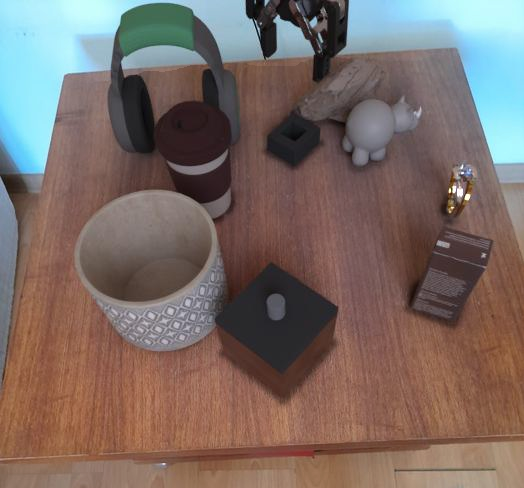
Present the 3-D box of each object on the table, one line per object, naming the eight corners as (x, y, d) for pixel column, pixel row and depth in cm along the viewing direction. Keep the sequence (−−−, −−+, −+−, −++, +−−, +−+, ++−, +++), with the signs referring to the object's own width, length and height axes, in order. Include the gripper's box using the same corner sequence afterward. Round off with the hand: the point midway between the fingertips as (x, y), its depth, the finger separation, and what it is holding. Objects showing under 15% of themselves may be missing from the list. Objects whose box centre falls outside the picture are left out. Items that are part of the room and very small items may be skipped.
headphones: (240, 113, 82) (226, -18, 64) (242, 161, 77) (228, 34, 59) (129, 122, 82) (84, -6, 64) (124, 170, 78) (74, 47, 60)
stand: (273, 301, 66) (271, 266, 59) (332, 342, 63) (338, 312, 56) (223, 352, 63) (215, 323, 56) (283, 399, 60) (282, 374, 53)
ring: (438, 190, 73) (455, 147, 66) (460, 193, 72) (479, 150, 65) (436, 227, 70) (453, 186, 63) (459, 230, 70) (478, 189, 62)
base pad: (271, 266, 59) (270, 248, 55) (338, 312, 56) (341, 295, 52) (215, 323, 56) (210, 307, 53) (282, 374, 53) (281, 360, 49)
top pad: (292, 128, 80) (292, 112, 77) (319, 143, 78) (320, 127, 75) (267, 150, 78) (266, 135, 75) (294, 166, 76) (294, 151, 74)
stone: (386, 95, 82) (351, 43, 78) (409, 91, 75) (372, 33, 70) (320, 159, 85) (283, 112, 81) (336, 162, 77) (296, 110, 73)
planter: (244, 266, 69) (236, 203, 57) (206, 369, 62) (187, 321, 51) (138, 242, 71) (109, 178, 60) (91, 339, 65) (48, 287, 53)
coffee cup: (251, 188, 75) (242, 102, 61) (222, 236, 71) (206, 156, 58) (194, 170, 77) (174, 83, 63) (163, 216, 73) (135, 134, 60)
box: (461, 296, 65) (496, 239, 54) (452, 323, 63) (486, 270, 52) (417, 281, 66) (442, 223, 55) (407, 308, 65) (431, 253, 54)
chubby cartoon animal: (424, 154, 76) (439, 106, 68) (352, 174, 75) (359, 128, 67) (404, 124, 79) (417, 75, 71) (335, 142, 78) (340, 95, 70)
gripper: (373, -77, 50) (353, 72, 64) (267, -116, 54) (271, 32, 69) (328, -43, 47) (319, 103, 62) (221, -86, 52) (236, 60, 67)
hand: (294, 66), depth 65 cm, fingers open, 8 cm apart
